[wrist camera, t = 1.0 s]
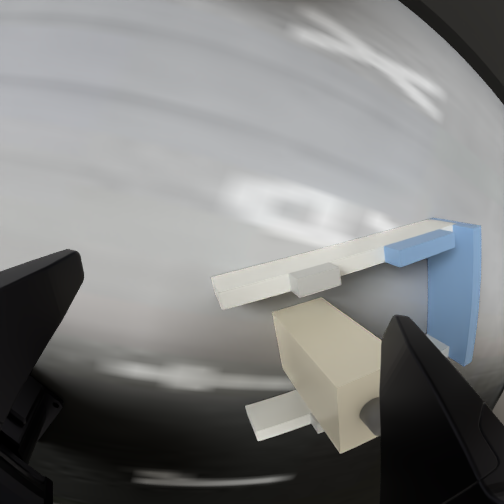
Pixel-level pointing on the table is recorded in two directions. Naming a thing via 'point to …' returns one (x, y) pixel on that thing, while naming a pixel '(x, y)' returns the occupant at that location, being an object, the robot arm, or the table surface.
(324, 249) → the sled frame
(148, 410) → the table surface
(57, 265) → the robot arm
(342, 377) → the beige drawer with knob
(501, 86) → the thin dark grey tray
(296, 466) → the table surface
